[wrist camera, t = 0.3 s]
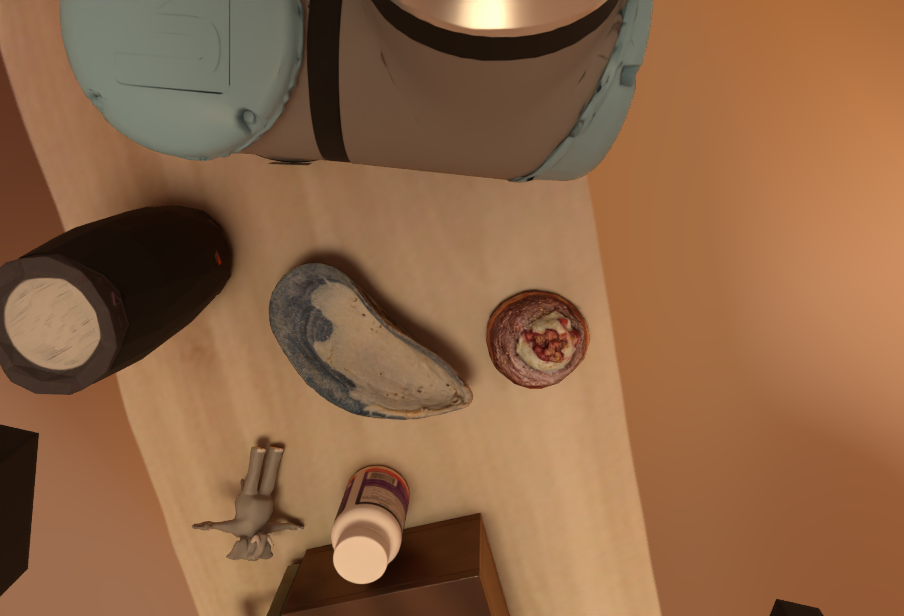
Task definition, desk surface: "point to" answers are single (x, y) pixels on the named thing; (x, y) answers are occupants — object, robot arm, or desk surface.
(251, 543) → the elephant figurine
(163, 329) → the portable speaker
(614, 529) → the desk surface
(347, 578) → the pill bottle
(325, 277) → the seashell
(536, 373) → the pastry
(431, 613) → the cabinet
